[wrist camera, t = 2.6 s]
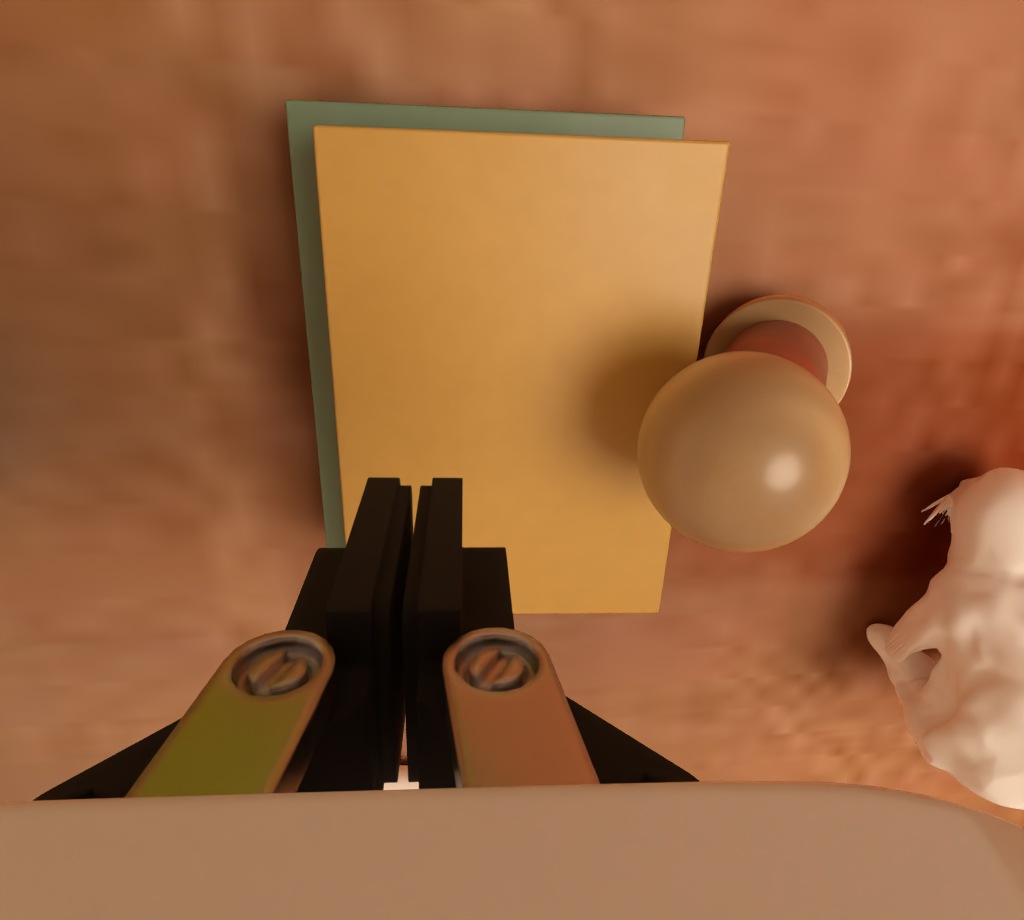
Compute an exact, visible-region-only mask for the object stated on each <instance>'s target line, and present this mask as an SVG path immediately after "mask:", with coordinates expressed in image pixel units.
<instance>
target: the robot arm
mask: <svg viewBox="0 0 1024 920" xmlns="http://www.w3.org/2000/svg"><path fill="white" fill-rule="evenodd" d="M462 510H463V478H433V479H432V486H425V485H421V486H420V493H419V499H418V506H417V513H416V520H415V526H414V533H413V505H412V487H411V485H401V483H400V478H398V477H369V478H368V479H367V483H366V486H365V489H364V492H363V495H362V498H361V501H360V504H359V507H358V510H357V513H356V516H355V520H354V523H353V526H352V529H351V532H350V535H349V538H348V541H347V544H346V547H345V548H319V549H318V550H317V552H316V554H315V556H314V559H313V561H312V564H311V566H310V569H309V571H308V574H307V576H306V579H305V581H304V584H303V586H302V589H301V591H300V594H299V597H298V599H297V602H296V604H295V607H294V609H293V612H292V614H291V617H290V619H289V622H288V624H287V627H286V629H285V630H282V631H277V632H272V633H267V634H264V635H261V636H259V637H256V638H253V639H251V640H249V641H247V642H245V643H244V644H242V645H241V646H239V647H237V648H236V649H234V650H233V651H232V653H231V654H230V655H229V656H228V657H227V658H226V659H225V660H224V661H223V662H222V664H221V665H220V666H219V668H218V669H217V671H216V672H215V673H214V675H213V676H212V677H211V679H210V680H209V682H208V683H207V684H206V686H205V687H204V688H203V690H202V691H201V693H200V694H199V695H198V697H197V698H196V699H195V701H194V702H193V704H192V705H191V706H190V708H189V709H188V710H187V712H186V713H185V715H184V716H183V717H182V718H181V719H179V720H178V721H176V722H174V723H172V724H170V725H168V726H166V727H165V728H163V729H161V730H159V731H157V732H155V733H154V734H152V735H150V736H148V737H146V738H144V739H143V740H141V741H139V742H137V743H135V744H133V745H131V746H130V747H128V748H126V749H124V750H122V751H120V752H119V753H117V754H115V755H113V756H111V757H109V758H108V759H106V760H104V761H102V762H100V763H98V764H97V765H95V766H93V767H91V768H89V769H87V770H85V771H84V772H82V773H80V774H78V775H76V776H74V777H73V778H71V779H69V780H67V781H65V782H63V783H62V784H60V785H58V786H56V787H54V788H52V789H51V790H49V791H47V792H45V793H43V794H42V795H40V796H39V797H37V798H36V799H34V800H33V801H14V802H0V920H1024V827H1022V826H1019V825H1017V824H1015V823H1013V822H1010V821H1008V820H1005V819H1002V818H1000V817H997V816H994V815H991V814H989V813H986V812H983V811H980V810H977V809H973V808H970V807H966V806H963V805H959V804H956V803H952V802H949V801H945V800H942V799H938V798H935V797H931V796H928V795H922V794H917V793H911V792H906V791H900V790H894V789H889V788H883V787H878V786H868V785H857V784H845V783H833V782H787V781H707V782H700V781H699V780H697V779H696V778H695V777H694V776H692V775H691V774H690V773H688V772H686V771H685V770H683V769H682V768H680V767H678V766H677V765H675V764H674V763H672V762H670V761H669V760H667V759H666V758H664V757H662V756H661V755H659V754H658V753H656V752H654V751H653V750H651V749H650V748H648V747H646V746H645V745H643V744H642V743H640V742H638V741H637V740H635V739H634V738H632V737H630V736H629V735H627V734H625V733H624V732H622V731H621V730H619V729H617V728H616V727H614V726H613V725H611V724H609V723H608V722H606V721H605V720H603V719H601V718H600V717H598V716H597V715H595V714H593V713H592V712H590V711H589V710H587V709H585V708H584V707H582V706H581V705H579V704H577V703H576V702H574V701H573V700H571V699H569V698H568V697H566V696H565V694H564V691H563V689H562V686H561V684H560V681H559V679H558V676H557V674H556V671H555V669H554V666H553V664H552V661H551V659H550V656H549V654H548V653H547V651H546V650H545V648H544V647H543V645H542V644H541V643H539V642H538V641H537V640H536V639H534V638H533V637H532V636H529V635H527V634H525V633H522V632H520V631H517V630H514V621H513V611H512V602H511V592H510V583H509V573H508V564H507V554H506V548H505V547H462ZM405 714H406V736H407V762H408V781H409V782H419V789H402V790H383V789H384V783H397V781H398V775H399V767H400V758H401V749H402V740H403V731H404V722H405Z"/></svg>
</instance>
